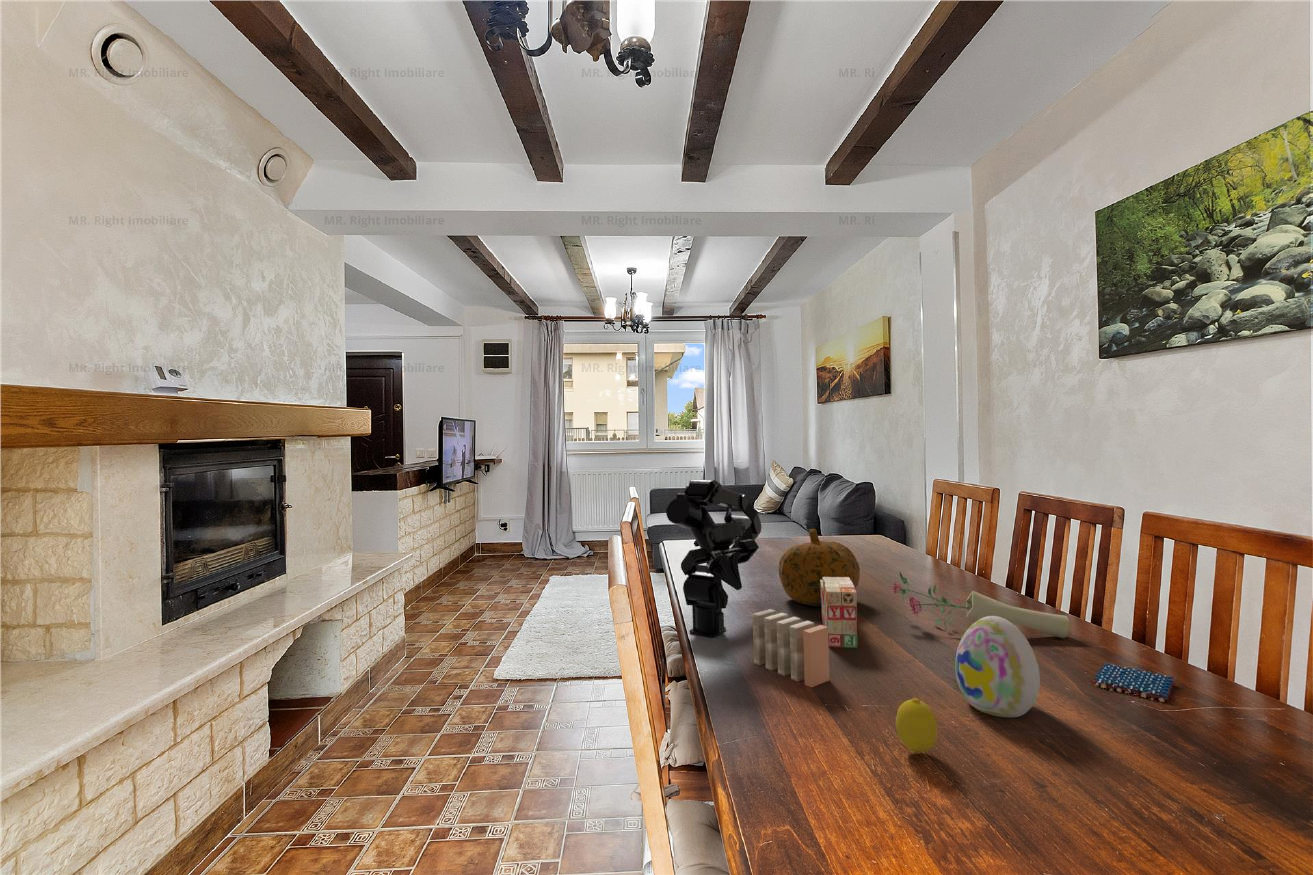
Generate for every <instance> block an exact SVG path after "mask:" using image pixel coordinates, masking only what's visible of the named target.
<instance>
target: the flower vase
mask: <svg viewBox="0 0 1313 875" xmlns="http://www.w3.org/2000/svg"><path fill="white" fill-rule="evenodd" d="M899 577H900V579H901V581H902V583H903V584H904V585H907V586H908V588H910V586H909V585H910V583H909V582H908V580H907V578H906V577H905V576H903V574H902V572H901V571H899ZM892 585H893V586H892V592H893V594H894V595H897V594H902V596H901V600H900V602H901V603H902V602H903V601H904V599H908V604H909V607H910V609H911V610H910V611H911V614H914V615H915V616H916V617H917V618H919V614H920V613H921V612H923V611H922V606H935V607H936V608H938V607H941V613H944V612H946V613H947V614H946V615H945V616H944V617H943V618H942V619H940V618H937V619H936V621H935V623H934V627H937V625H939V624H940V622H941V621H943V620H944V619H945V621H944V627H945V630H946V633H948V629H947V627H949V625H951V623H952V621H953V620H954V619H957V618H958V616H957V617H952V618H951V619H950V620H949V622H948V624H947V623H946V621H947V620H948V618H949V615H951V614H952V610H954V609H955V608H960V609H965V610H964V611H963V612H962V611H959V612H958V611H955V614H960V613H962V614H961V615H960V617H962V616H963V613H965V612H966V618H969V619H978V620H979V619H981V618H984V617H987V616H998V617H1001V618H1004V619H1006V620H1008V621H1009V622H1011V623H1012V624H1016V625H1019V626H1023V627H1026V628H1029V629H1033V630H1036V631H1040V632H1043V633H1046V634H1047V635H1050V636H1054V637H1057V638H1060V639H1063V640H1064V639H1066V638H1067V636H1068V635H1069V631H1070V620H1069V617H1068V616H1067V615H1063V614H1055V613H1050V612H1049V613H1048V612H1044V611H1043V612H1042V611H1037V610H1032V609H1028V608H1023V607H1022V608H1021V607H1018V606H1012V605H1009V604H1007V603H1003V602H1000V601H999V600H997V599H994V598H992V597H989V596H986V595H984V594H982V593H980V592H977V591H975V590H972V591H971V592H970V594H969V595H968V598H967V599H966V600H965V604H966V605H965V606H958V605H954V604H953V603H951V601H949V600H948V599H947V598H946V597H945V596H943V595H941V600H940V599H938V597H937V593H936V592H937V584H934V586H933V589H932V587H931V586H929V588H928V590H927V591H928V592H927V594H928V595H929V596H928V595H926V594H923V593H921V592H918V591H915V590H911V589H907V588H902V587H901V583H898V582H897V581H894V583H893V584H892ZM932 590H933V592H932ZM907 591H909V592H912V593H915V594H911V595H910V594H909V593H907ZM932 593H934V594H935V597H936V598H935V597H933V596H932ZM906 594H907V596H906V597H904V595H906ZM908 595H909V596H908ZM915 595H922V596H923V597H927V598H928V599H931V600H935V601H937V602H934V601H933V603H921V601H920V600H919V598H918V597H916V596H915ZM945 607H949V608H952V610H949V611H946V610H945ZM946 624H947V625H946Z"/></svg>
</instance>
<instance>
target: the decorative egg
mask: <svg viewBox="0 0 1313 875" xmlns="http://www.w3.org/2000/svg"><path fill="white" fill-rule="evenodd" d="M957 646H958V647H957V648H956V649H957V650H956V654H955V659H954V660H955V661H954V662H955V663H954V666H955V667H954V670H955V677H956V681H957V685H958V687H959V690H960V692H961V693H962V695H963V696H964V699H966V700H967V702H968V704H970V706H971V707H973V708H974V709H976V710H977V711H979V712H981V713H984V714H986V715H989V716H994V717H999V718H1018V717H1022V716H1024V715H1025V714H1026V713H1028V712H1029V711H1030V709H1031V708H1032V707H1033V706H1034V704H1035V703H1036V700H1037V699H1038V696H1039V692H1040V686H1041V685H1040V683H1041V675H1040V669H1039V664H1038V660H1037V658H1036V654H1035V652H1034V650H1033V648H1032V646H1031V645H1030V642H1029V641H1028V639H1027V638H1026V636H1025V635H1024V634H1023V633H1022V631H1021V630H1020V629H1019V628H1018V627H1017V626H1016V625H1014V623H1012V622H1009V621H1008V620H1006V619H1004V618H1001V617H998V616H987V617H984V618H981V619H978V620H976V621H975V622H973V623H972V624H971V625H970V626H969V627H968V628H967V629H966V631H965V632H964V634H963V635H962V636H961V639H960V640H959V643H958V645H957Z"/></svg>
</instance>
